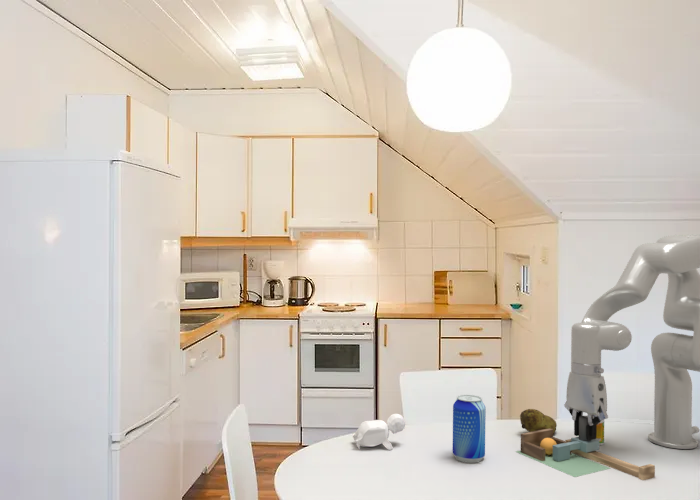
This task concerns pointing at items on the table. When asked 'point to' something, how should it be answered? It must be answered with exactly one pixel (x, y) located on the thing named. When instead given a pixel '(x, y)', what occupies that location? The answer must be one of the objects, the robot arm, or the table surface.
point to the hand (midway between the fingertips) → (585, 436)
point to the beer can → (469, 428)
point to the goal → (537, 443)
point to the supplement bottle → (600, 432)
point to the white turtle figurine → (378, 431)
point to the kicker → (576, 443)
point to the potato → (536, 421)
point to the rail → (619, 464)
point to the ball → (548, 445)
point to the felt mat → (571, 465)
